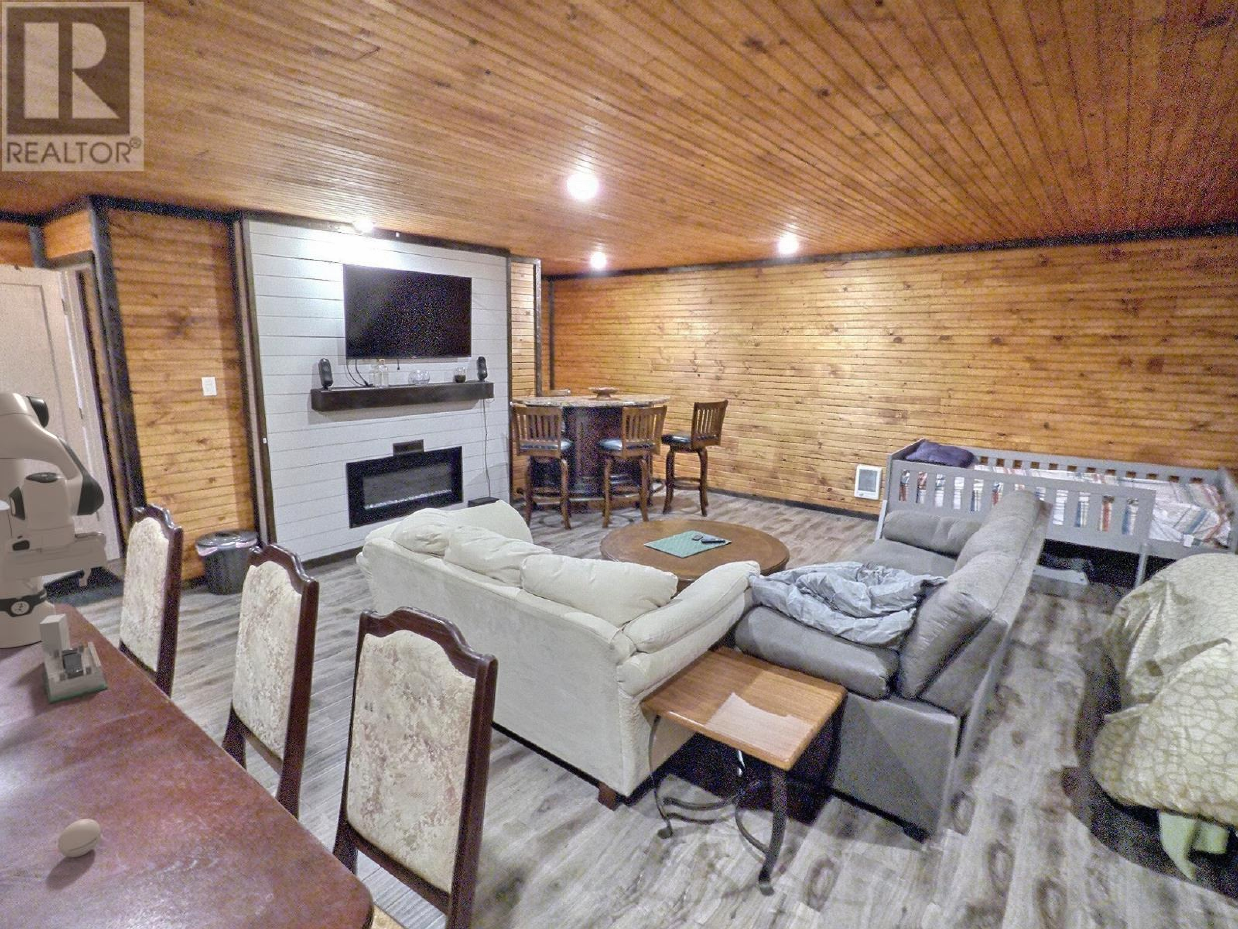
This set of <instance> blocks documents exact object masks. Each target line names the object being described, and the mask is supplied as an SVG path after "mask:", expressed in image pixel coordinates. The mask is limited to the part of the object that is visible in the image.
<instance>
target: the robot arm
mask: <svg viewBox="0 0 1238 929" xmlns="http://www.w3.org/2000/svg"><path fill="white" fill-rule="evenodd" d="M50 417H51V413H50V409H49V407H48V405H47V403H46V401H44V399H42V398H41V397H37V396H32V395H26V396H25V395H24V396H23V395H21V394H19V393H16V392H12V391H1V392H0V501H1V502H4V503H5V504H7V506H8V508H6V509H1V510H0V649H1V648H2V649H7V648H14V647H15V648H16V647H21V646H25V645H31V644H34V643H38V642H40V641H41V642H42V640H41V633H40V627H39V624H40V623H41V622H42V621H43V620H44V619H45V618H46V617H47V616H51V615H57V613H56V607H55V604H53V603H50V602H49V601H48V600H47V599H48V597H47V590H46V587H44V583H43V581H44V580H43V577H45V576H51V575H57V574H63V573H70V572H75V571H83V573H84V575H83V576H82V578H78V582H79V583H78V585H79V587H80V588H81V587H84V586H85V587H86V586H88V581H87V580H88V579H89V577H90V575H91V573H92V569H94V568H100V567H104V566H106V564H107V563H108V556H107V553H106V549H105V546H106V545H107V537H106V535H105V533H102V532H98V531H91V532H82V533H80V532H79V533H76V530H75V528H76V527H75V522H74V519H73V518H72V517H75V516H76V517H79V516H92V515H93V514H95V513H96V512H97V511H99V510H100V509H101V508H102V507H103V506H104V503H105V494H104V491H103V488H102V487H101V485H100V483H99V482H98V481H97V480H96V479H95V478H93V476H91V474H90V473H89V472H88V471H87V469H86V467H85V466H84V465H83V463H82V462H81V460H80V459H79V457H78V456H77V455H76V453H75V452H74V450H73V449H72V448H71V446H70V444H68V442H66V440H65V439H64V438H62V437H61V436H59V435H55V434H53V433H51V432H50V431H48V430H47V429H46V427H48V425H49V421H50ZM25 460H35V461H41V462H46V463H49V464H52V465H54V466H56V467H57V468H59V470H60V472H62V474H61V473H59V472H51V471H50V472H49V471H45V472H36V473H35V472H34V473H32V474H28V473H27V469H26V465H25V464H26V463H25Z"/></svg>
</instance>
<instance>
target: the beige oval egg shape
mask: <svg viewBox="0 0 1238 929" xmlns="http://www.w3.org/2000/svg"><path fill="white" fill-rule="evenodd" d="M116 823H117V822H113V823H112V824H109V825H108V826H106V827H103V828H101V826H100V823H98V822H97V821H96V820H94V819H90V818H83V819H78V820H76V821H73V822H72V823H70V824H68V826H67V827H65V829H63V830H62V832H61V834H60V835H59V837H58V841H57V847H58V850H59V853H61V854H62V855H63V856H65V857H68V858H79V857H81V856H83V855H86V854H88V853H89V852H90V851H91V850H93V849H94V848H95V847H96V846H97V844H98V843H99V841H100V839H101V836H102V829H103V830H104V829H105V828H108V827H110V826H113V825H114V824H116Z"/></svg>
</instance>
